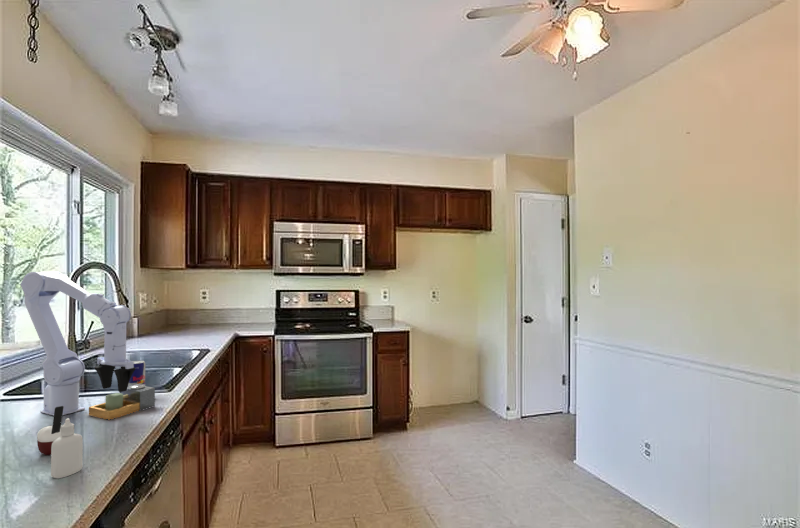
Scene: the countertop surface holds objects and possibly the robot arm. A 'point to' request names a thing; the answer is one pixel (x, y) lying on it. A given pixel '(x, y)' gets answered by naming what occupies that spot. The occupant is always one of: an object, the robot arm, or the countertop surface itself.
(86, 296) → the robot arm
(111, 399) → the spout can
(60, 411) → the cocoa
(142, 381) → the energy drink
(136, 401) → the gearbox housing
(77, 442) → the eye dropper bottle
